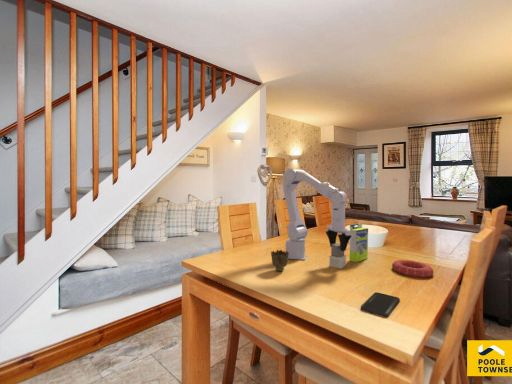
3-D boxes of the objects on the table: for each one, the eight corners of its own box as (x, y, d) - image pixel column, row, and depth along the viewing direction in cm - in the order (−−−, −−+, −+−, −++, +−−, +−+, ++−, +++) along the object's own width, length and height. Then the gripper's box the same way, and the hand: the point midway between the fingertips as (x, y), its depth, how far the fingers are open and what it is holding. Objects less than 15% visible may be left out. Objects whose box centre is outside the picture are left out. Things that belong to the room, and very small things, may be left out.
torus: (384, 268, 123) (384, 260, 123) (410, 265, 127) (410, 257, 127) (413, 280, 108) (413, 271, 108) (442, 277, 112) (442, 268, 111)
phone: (400, 298, 89) (387, 315, 78) (400, 301, 90) (387, 319, 78) (375, 291, 95) (359, 307, 83) (375, 295, 95) (359, 310, 83)
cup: (276, 274, 114) (276, 255, 113) (267, 269, 120) (267, 251, 120) (291, 271, 117) (292, 252, 117) (282, 266, 124) (282, 249, 123)
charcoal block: (336, 257, 122) (336, 245, 122) (331, 254, 126) (331, 243, 126) (344, 256, 124) (344, 245, 123) (338, 254, 127) (339, 243, 127)
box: (356, 262, 130) (356, 225, 129) (348, 260, 133) (348, 224, 133) (368, 258, 137) (369, 223, 136) (360, 257, 140) (361, 222, 139)
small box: (334, 263, 129) (334, 253, 129) (346, 266, 125) (346, 255, 125) (328, 266, 125) (329, 255, 124) (341, 269, 121) (341, 258, 121)
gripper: (321, 216, 130) (321, 245, 130) (340, 221, 116) (340, 253, 117) (334, 216, 132) (333, 244, 133) (354, 220, 118) (354, 251, 119)
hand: (337, 248), depth 125 cm, fingers open, 7 cm apart
